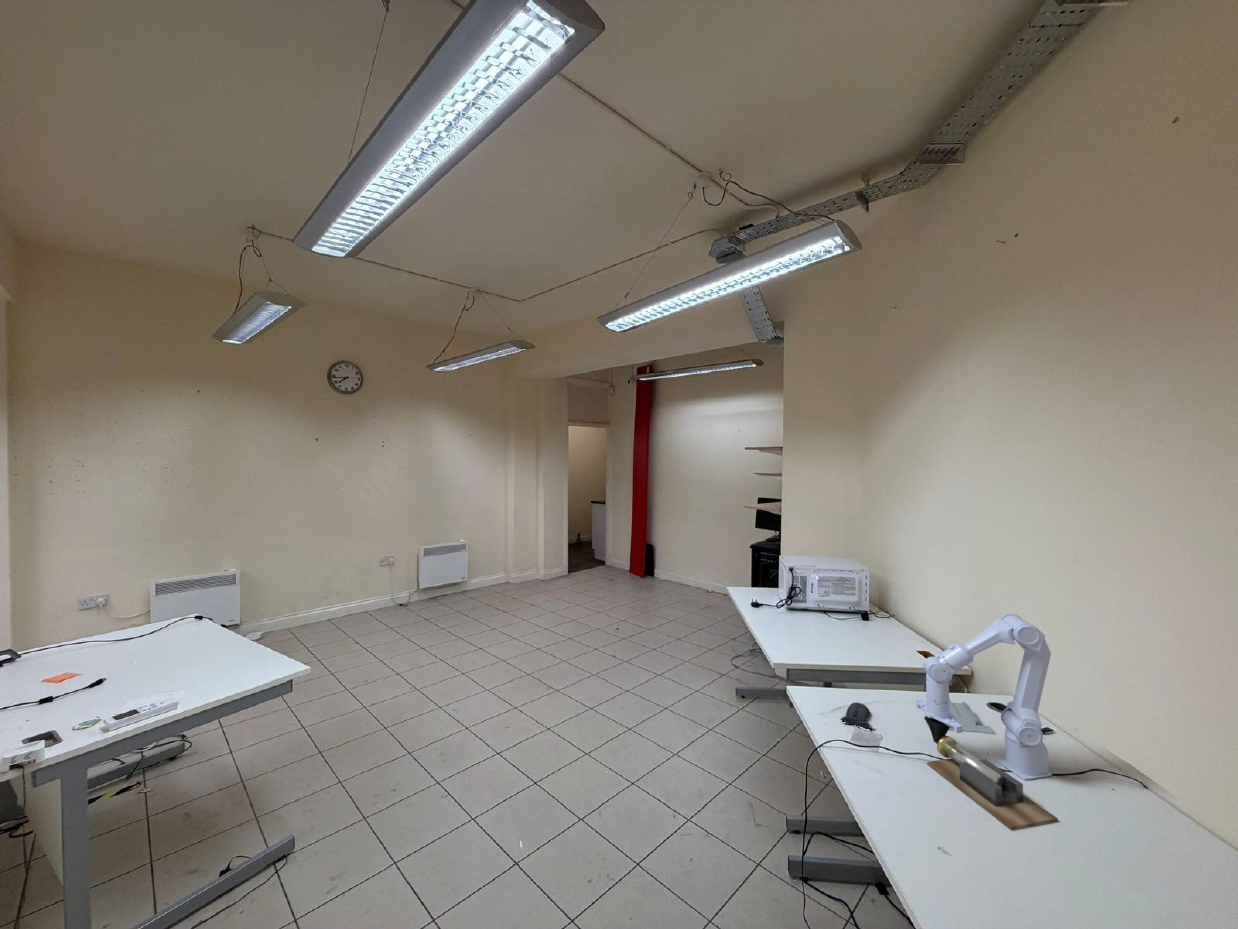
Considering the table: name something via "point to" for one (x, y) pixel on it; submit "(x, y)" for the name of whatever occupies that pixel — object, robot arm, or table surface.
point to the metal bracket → (967, 718)
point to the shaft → (966, 758)
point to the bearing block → (992, 785)
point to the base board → (1006, 814)
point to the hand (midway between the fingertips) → (938, 742)
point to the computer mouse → (857, 715)
